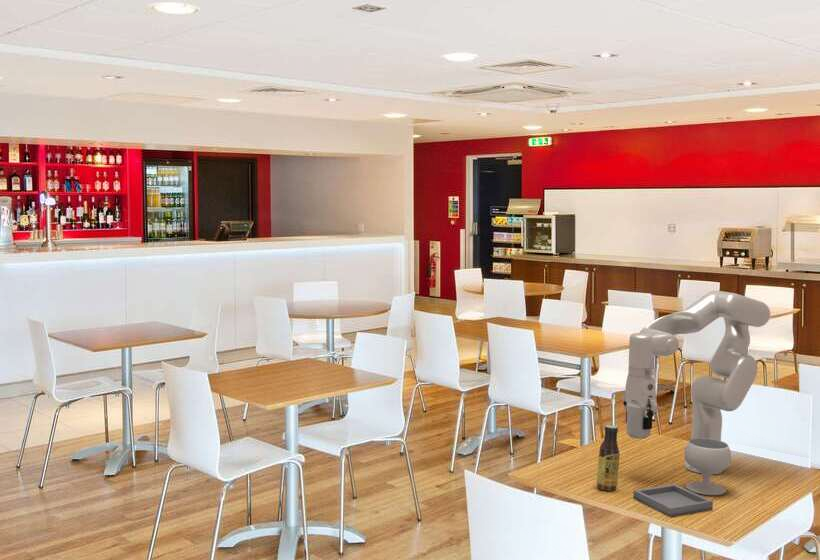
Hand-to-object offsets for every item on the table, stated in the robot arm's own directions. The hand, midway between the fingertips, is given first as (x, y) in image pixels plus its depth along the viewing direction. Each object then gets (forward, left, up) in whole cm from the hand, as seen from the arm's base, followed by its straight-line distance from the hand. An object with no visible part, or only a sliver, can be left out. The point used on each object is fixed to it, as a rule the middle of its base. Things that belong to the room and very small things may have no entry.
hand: (638, 425), depth 277 cm
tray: (+5, +22, -18) cm, 29 cm away
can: (0, 0, -4) cm, 4 cm away
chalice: (-14, +16, -18) cm, 28 cm away
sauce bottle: (+15, +4, -18) cm, 24 cm away
